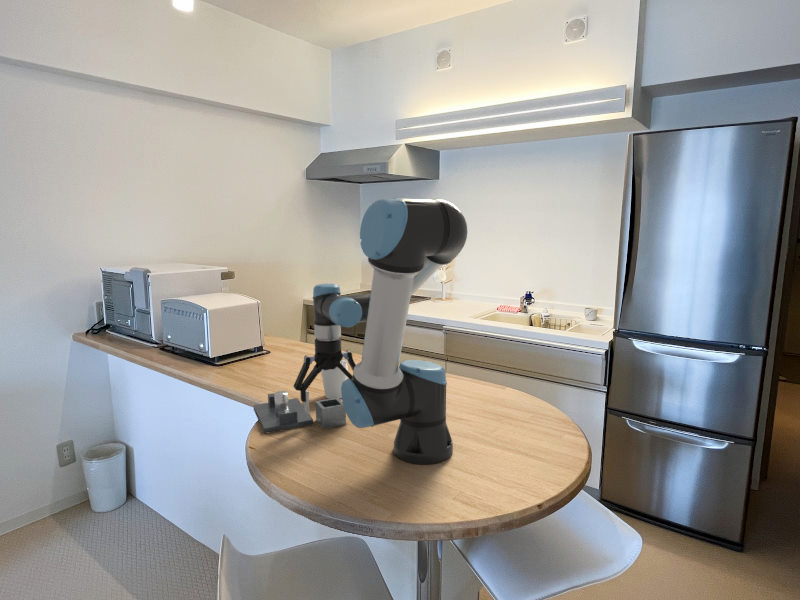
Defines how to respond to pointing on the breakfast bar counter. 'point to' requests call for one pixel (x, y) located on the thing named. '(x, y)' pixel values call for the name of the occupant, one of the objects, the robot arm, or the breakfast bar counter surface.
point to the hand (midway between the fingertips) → (329, 407)
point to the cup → (334, 381)
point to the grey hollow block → (330, 413)
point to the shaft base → (281, 413)
